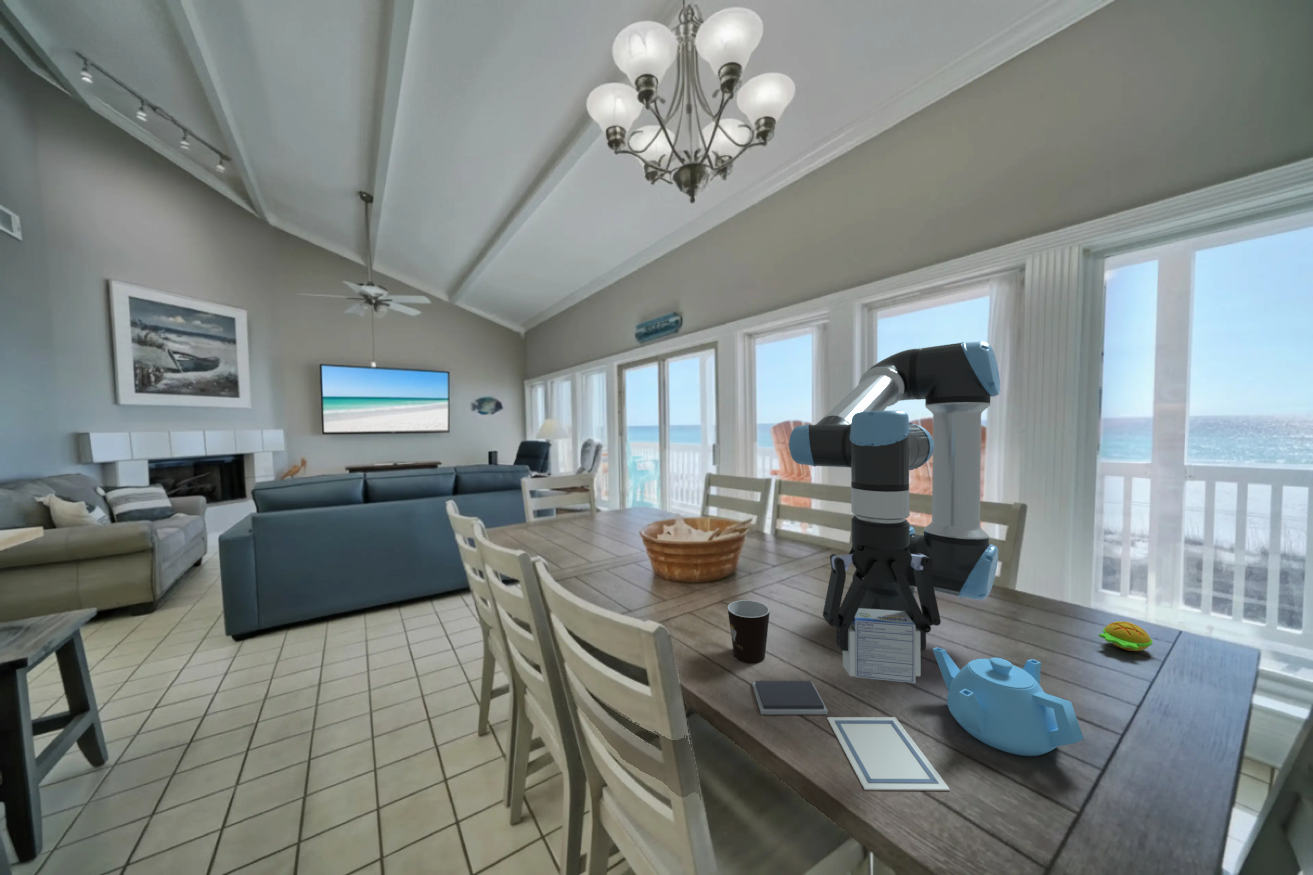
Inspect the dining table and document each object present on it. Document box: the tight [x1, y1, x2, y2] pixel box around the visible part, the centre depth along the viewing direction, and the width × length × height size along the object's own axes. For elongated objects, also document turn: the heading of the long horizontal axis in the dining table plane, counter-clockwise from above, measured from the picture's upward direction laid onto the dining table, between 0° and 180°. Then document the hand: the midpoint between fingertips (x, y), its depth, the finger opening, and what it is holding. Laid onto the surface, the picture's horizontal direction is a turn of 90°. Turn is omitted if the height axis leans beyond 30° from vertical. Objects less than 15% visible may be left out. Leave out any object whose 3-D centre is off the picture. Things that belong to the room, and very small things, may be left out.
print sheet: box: [826, 716, 951, 792], centre depth 64 cm, size 11×14×1 cm
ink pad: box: [752, 680, 829, 715], centre depth 77 cm, size 11×8×1 cm
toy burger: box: [1098, 620, 1153, 652], centre depth 90 cm, size 7×10×5 cm
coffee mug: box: [727, 599, 771, 665], centre depth 93 cm, size 12×9×10 cm
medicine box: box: [850, 608, 917, 684], centre depth 64 cm, size 8×4×9 cm, turn 77°
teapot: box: [932, 646, 1085, 757], centre depth 68 cm, size 15×15×11 cm
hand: (880, 670), depth 64 cm, fingers closed on medicine box, 8 cm apart
